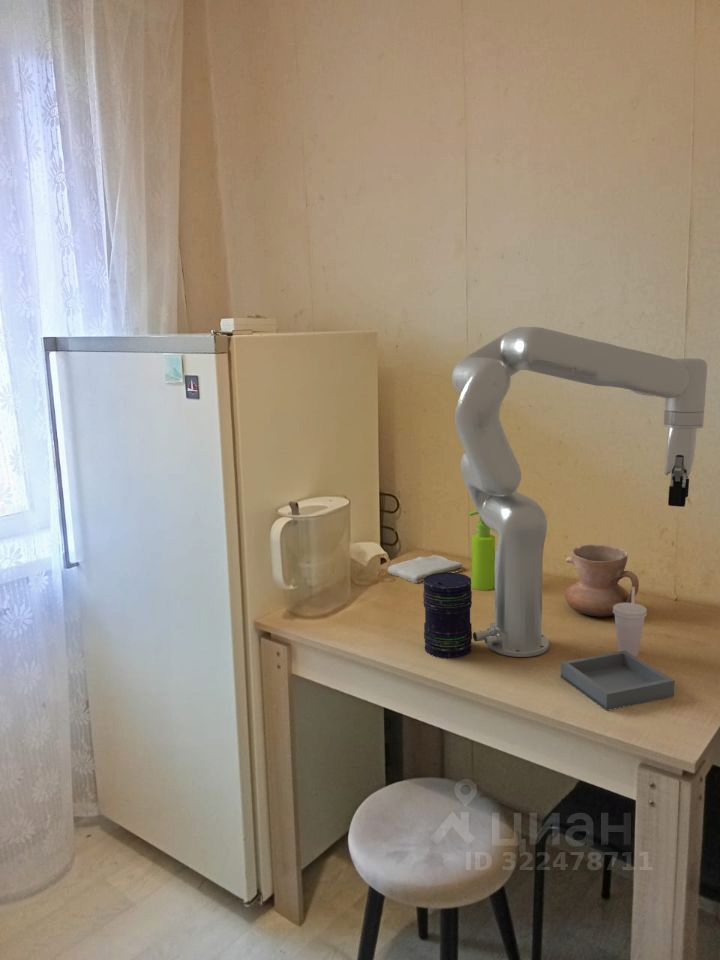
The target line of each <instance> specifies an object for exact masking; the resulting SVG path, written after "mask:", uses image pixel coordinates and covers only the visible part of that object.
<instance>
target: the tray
mask: <svg viewBox="0 0 720 960" xmlns="http://www.w3.org/2000/svg"><path fill="white" fill-rule="evenodd" d="M560 678H561V679H563V680H564V681H566V682H567V683H568V684H570V685H571V686H572V687H573V688H574V689H576V690H577V691H579V692H581V693H582V694H583V695H585V696H586V697H587V698H589V699H590V700H591V701H593V702H594V703H595V702H596V703H595V704H596V705H597V706H599V705H600V707H601V708H602V707H603V708H604V709H603V708H602V709H603V710H605V709H606V710H607V711H610V710H609V709H612V710H615V709H614V708H616V709H620V708H619V707H621V708H624V707H623V706H626V707H629V706H628V705H630V706H634V705H633V704H635V705H638V704H637V703H640V704H644V702H645V703H649V702H654V701H658V700H662V699H668V698H672V697H674V696H675V684H676V683H675V680H674V679H673V678H671V677H669V676H668V675H666V674H664V673H663V672H661V671H659V670H658V669H656V668H654V667H653V666H651V665H649V663H648V664H647V663H646V662H645V661H643V660H641V659H640V658H637V657H634V656H633V655H631V654H629V653H628V652H626V651H619V652H618V651H614V652H608V653H603V654H598V655H593V656H587V657H581V658H577V659H571V660H566V661H561V662H560ZM606 710H605V711H606Z"/></svg>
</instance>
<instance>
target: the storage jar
mask: <svg viewBox="0 0 720 960" xmlns="http://www.w3.org/2000/svg"><path fill="white" fill-rule="evenodd" d="M472 593H473V592H472V577H470V576H468V575H466V574H464V573H458V572H455V573H448V572H446V573H435V574H431V575H428V576H426V577H425V578H424V581H423V595H422V596H423V601H422V603H423V606H424V612H425V613H424V614H425V618H424V619H425V620H424V621H425V622H424V624H423V625H424V626H423V628H424V629H423V630H424V631H423V638H424V651H425V653H427V654H428V653H429V654H430V655H429V654H428V655H429V656H431V655H433V656H432V657H434V656H435V657H434V658H437V657H439V659H444V658H447V660H448V658H451V659H450V660H452V658H454V659H460V658H464V657H467V656H468V655H469V654H471V653H472V649H473V648H472V639H473V631H472V622H471V608H472V604H473V602H472V598H473V594H472Z"/></svg>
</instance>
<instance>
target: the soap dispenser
mask: <svg viewBox="0 0 720 960" xmlns="http://www.w3.org/2000/svg"><path fill="white" fill-rule="evenodd" d="M467 515H469V516H472V517H473V516H475V515H479V513H478V511H477V509H474V510H471V511H468V512H467ZM475 524H476V525H475V529H476V531H475V532H476V534H472V536H470V538H471V541H470V542H471V544H470V545H471V547H470V548H471V551H470V552H471V554H470V555H471V563H470V564H471V589H474V590H478V591H490V590H495V554H496V536H495V535H492V534H491V529H490V528H489V527H488V526H487V525H486V524H485V523H484V521H483V520H482V518H481V516H480V515H479V521H478V522H476V523H475Z"/></svg>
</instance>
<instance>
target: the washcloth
mask: <svg viewBox="0 0 720 960" xmlns="http://www.w3.org/2000/svg"><path fill="white" fill-rule="evenodd" d="M462 567H463V564H462V563H461V562H459V561H454V560H450V559H447V558H446V557H444V556H440V555H437V554H432V555H430V556H417V557H416V558H413V559H408V560H407V559H406V560H405V561H404V560H403V561H402V562H397V563H394V564H392V565H390V566H389V567H387V573H389V575H391V574H392V576H394V575H395V576H394V577H396V576H399V577H398V578H400V577H401V578H400V579H403V578H404V579H405V581H407V580H408V581H407V582H410V581H411V582H410V583H412V582H414V583H413V584H419V583H422V582H421V581H423V582H424V578H425V577H426V576H428V575H431V574H435V573H446V572H448V573H452V572H455V571H459V570H462V569H463V568H462ZM459 572H460V571H459ZM455 573H456V572H455ZM404 579H403V580H404ZM418 582H419V583H418Z"/></svg>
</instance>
